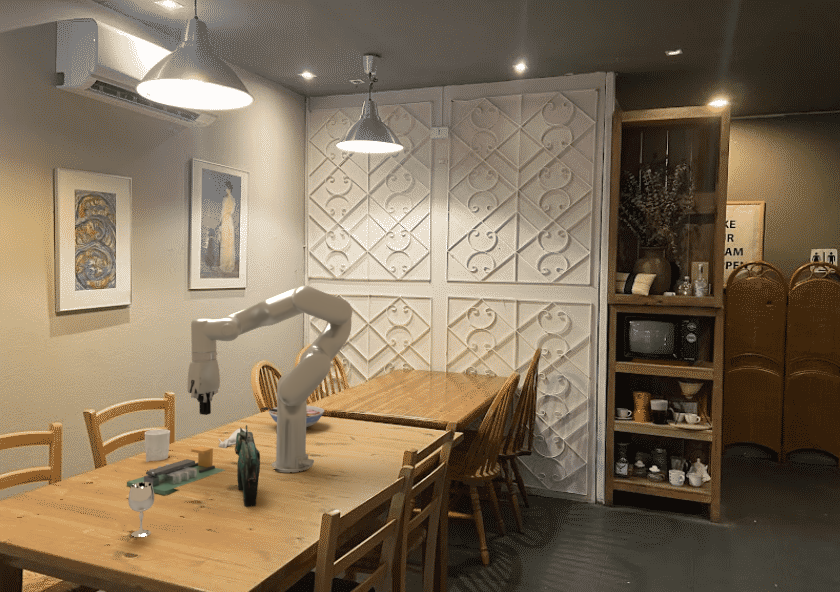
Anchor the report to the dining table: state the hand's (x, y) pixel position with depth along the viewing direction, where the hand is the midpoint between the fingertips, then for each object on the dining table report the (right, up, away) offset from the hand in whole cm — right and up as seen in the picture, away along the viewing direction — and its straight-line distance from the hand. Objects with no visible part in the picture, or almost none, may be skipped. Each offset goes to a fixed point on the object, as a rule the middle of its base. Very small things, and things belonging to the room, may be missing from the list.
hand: (205, 413), depth 207 cm
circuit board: (-6, -19, -8) cm, 21 cm away
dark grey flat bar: (-7, -15, -11) cm, 20 cm away
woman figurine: (-2, -18, +36) cm, 40 cm away
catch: (-1, -17, 0) cm, 17 cm away
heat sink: (-7, -18, -12) cm, 23 cm away
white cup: (-20, -18, +10) cm, 29 cm away
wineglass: (+1, -20, -50) cm, 54 cm away
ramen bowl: (+17, -18, +62) cm, 67 cm away
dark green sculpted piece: (+19, -20, -21) cm, 35 cm away
